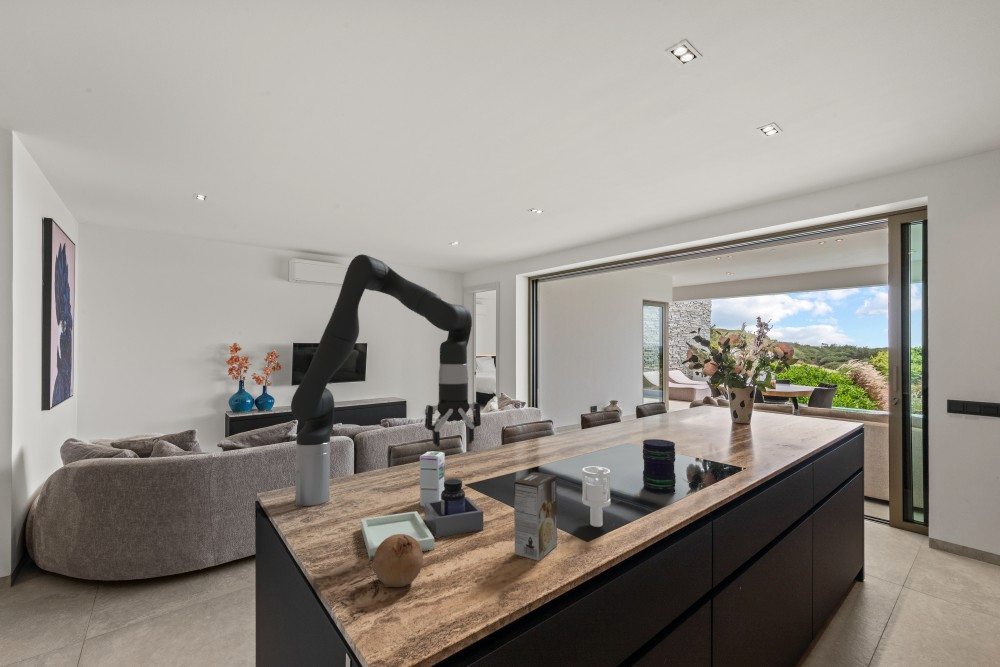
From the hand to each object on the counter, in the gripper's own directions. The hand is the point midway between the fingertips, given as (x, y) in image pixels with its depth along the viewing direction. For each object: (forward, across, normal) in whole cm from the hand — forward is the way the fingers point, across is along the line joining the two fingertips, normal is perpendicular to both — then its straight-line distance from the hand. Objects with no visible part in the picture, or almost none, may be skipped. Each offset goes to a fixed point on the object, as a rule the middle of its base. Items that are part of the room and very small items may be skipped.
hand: (453, 444), depth 116 cm
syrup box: (+20, +1, -17) cm, 27 cm away
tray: (+20, +15, +3) cm, 25 cm away
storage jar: (+21, -69, -2) cm, 72 cm away
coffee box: (+21, -13, +21) cm, 32 cm away
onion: (+21, +18, +23) cm, 36 cm away
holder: (+20, 0, 0) cm, 20 cm away
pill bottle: (+21, 0, 0) cm, 21 cm away
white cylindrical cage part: (+21, -34, +14) cm, 42 cm away
